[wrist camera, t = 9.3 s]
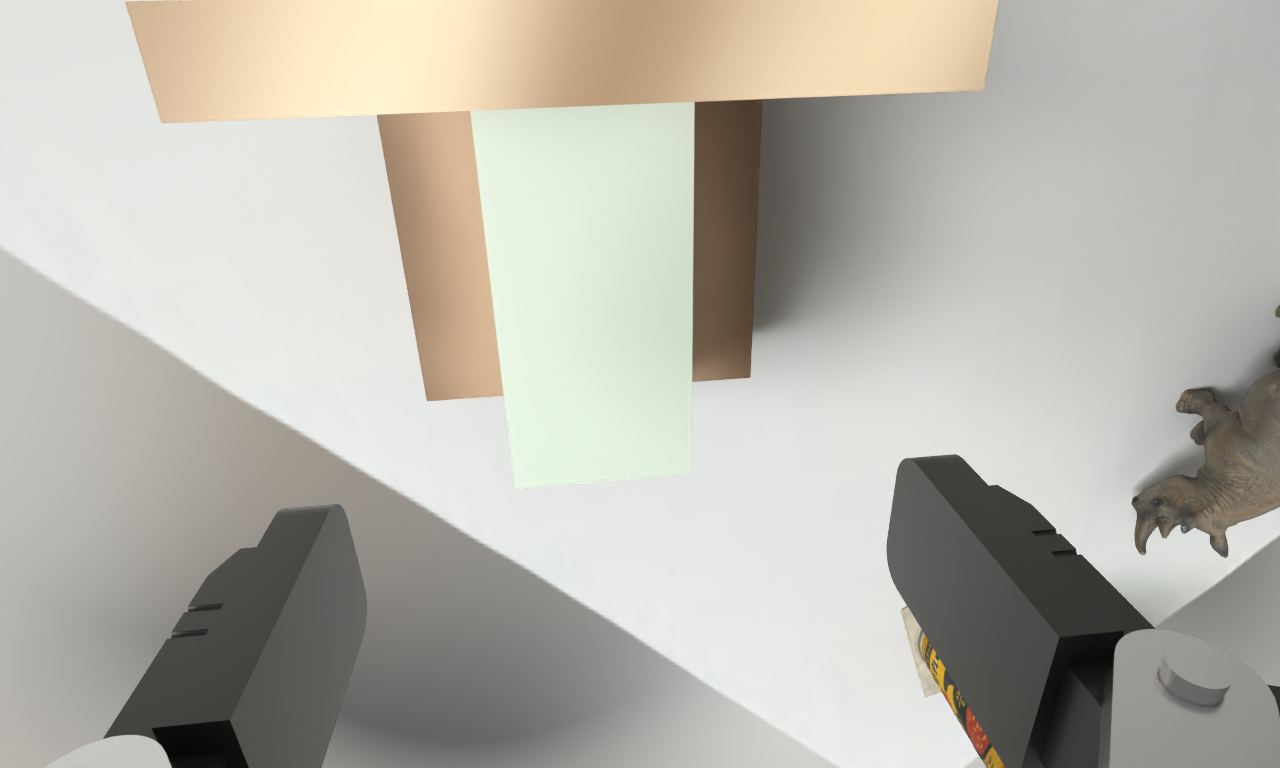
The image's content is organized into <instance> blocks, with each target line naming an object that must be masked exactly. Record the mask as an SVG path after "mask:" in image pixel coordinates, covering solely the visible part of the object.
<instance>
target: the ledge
mask: <svg viewBox="0 0 1280 768" xmlns="http://www.w3.org/2000/svg"><path fill="white" fill-rule="evenodd" d="M761 111H762V99H752V100H728V101H703V102H695V110H694V226H693V342H692V382H696V381H710V380H723V379H737V378H750V372H751V348H752V325H753V301H754V277H755V253H756V229H757V206H758V182H759V158H760V134H761ZM377 119H378V124H379V130H380V136H381V141H382V147H383V153H384V159H385V164H386V170H387V176H388V181H389V187H390V193H391V198H392V204H393V210H394V216H395V221H396V227H397V233H398V238H399V244H400V250H401V255H402V261H403V267H404V273H405V278H406V284H407V290H408V295H409V301H410V307H411V313H412V318H413V324H414V330H415V335H416V341H417V347H418V352H419V358H420V364H421V370H422V375H423V381H424V387H425V392H426V398H427V401H436V400H450V399H463V398H477V397H491V396H504V394H503V386H502V377H501V369H500V360H499V352H498V343H497V335H496V326H495V318H494V309H493V301H492V292H491V284H490V275H489V267H488V258H487V250H486V241H485V233H484V224H483V216H482V207H481V199H480V190H479V182H478V174H477V165H476V157H475V148H474V140H473V131H472V123H471V114H470V111H454V112H430V113H405V114H380V115H377Z"/></svg>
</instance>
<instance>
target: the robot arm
mask: <svg viewBox="0 0 1280 768" xmlns="http://www.w3.org/2000/svg"><path fill="white" fill-rule="evenodd" d="M887 560H888V566H889V570H890V574H891V577H892V580H893V582H894V584H895V586H896V588H897V590H898V591H899V593H900V594H901V596H902V598H903V599H904V601H905V603H906V604H907V606H908V608H909V609H910V611H911V613H912V614H913V616H914V618H915V619H916V621H917V623H918V624H919V626H920V627H921V629H922V631H923V632H924V634H925V636H926V637H927V639H928V641H929V642H930V644H931V646H932V647H933V649H934V651H935V652H936V654H937V656H938V657H939V659H940V661H941V662H942V664H943V665H944V667H945V669H946V670H947V672H948V674H949V675H950V677H951V679H952V680H953V682H954V684H955V685H956V687H957V689H958V690H959V692H960V694H961V695H962V697H963V698H964V700H965V702H966V703H967V705H968V707H969V708H970V710H971V712H972V713H973V715H974V717H975V718H976V720H977V722H978V723H979V725H980V727H981V728H982V730H983V732H984V733H985V735H986V736H987V738H988V740H989V741H990V743H991V745H992V746H993V748H994V750H995V751H996V753H997V755H998V756H999V758H1000V760H1001V761H1002V763H1003V765H1004V766H1005V768H1280V687H1278V686H1271V685H1267V684H1266V683H1265V682H1264V681H1263V680H1262V678H1261V677H1260V676H1258V675H1257V673H1256V672H1255V671H1253V670H1252V669H1251V668H1250V667H1249V666H1247V665H1246V664H1245V663H1244V662H1242V661H1241V660H1240V659H1238V658H1236V657H1235V656H1233V655H1232V654H1230V653H1229V652H1227V651H1225V650H1223V649H1221V648H1220V647H1218V646H1216V645H1214V644H1211V643H1209V642H1207V641H1205V640H1202V639H1199V638H1197V637H1194V636H1191V635H1188V634H1184V633H1180V632H1175V631H1169V630H1163V629H1155V628H1154V627H1153V626H1152V625H1151V624H1150V623H1149V622H1148V621H1147V620H1146V619H1145V618H1144V617H1143V616H1142V615H1141V614H1140V613H1139V612H1138V611H1137V610H1136V609H1135V608H1134V607H1133V606H1132V605H1131V604H1130V603H1129V602H1128V601H1127V600H1126V599H1125V598H1124V597H1123V596H1122V595H1121V594H1120V593H1119V592H1118V591H1117V590H1116V589H1115V588H1114V587H1113V586H1112V585H1111V584H1110V583H1109V582H1108V581H1107V580H1106V579H1105V578H1104V577H1103V576H1102V575H1101V574H1100V573H1099V572H1098V571H1097V570H1096V569H1095V568H1094V567H1093V566H1092V565H1091V564H1090V563H1089V562H1088V561H1087V560H1086V559H1085V558H1084V557H1083V556H1082V555H1077V553H1076V549H1075V548H1074V547H1073V546H1072V545H1071V544H1070V543H1069V542H1068V541H1067V540H1066V539H1065V538H1064V537H1063V536H1062V535H1061V534H1057V533H1056V529H1055V528H1054V527H1053V526H1052V525H1051V524H1050V523H1049V522H1048V521H1047V520H1046V519H1045V518H1044V517H1043V516H1042V515H1041V514H1040V513H1039V512H1038V511H1037V510H1036V509H1035V508H1034V507H1033V506H1032V505H1031V504H1030V503H1028V502H1026V501H1024V500H1023V499H1021V498H1019V497H1017V496H1016V495H1014V494H1012V493H1010V492H1009V491H1007V490H1005V489H1003V488H1001V487H1000V486H998V485H992V486H988V485H987V484H986V483H985V482H984V481H983V479H982V478H981V477H980V476H979V475H978V474H977V473H976V472H975V471H974V470H973V469H972V468H971V467H970V466H969V465H968V464H967V462H966V461H965V460H964V459H963V458H961V457H960V456H958V455H955V454H954V455H942V456H930V457H917V458H906V459H904V460H902V462H901V463H900V465H899V467H898V471H897V476H896V483H895V490H894V497H893V504H892V511H891V517H890V524H889V531H888V538H887ZM188 608H189V609H188V612H186V613H184V614H183V616H182V617H181V618H180V620H179V622H178V623H177V625H176V626H175V628H174V629H173V631H172V638H171V639H167V640H166V642H165V643H164V645H163V646H162V648H161V649H160V651H159V653H158V654H157V656H156V657H155V659H154V661H153V662H152V663H151V665H150V667H149V668H148V670H147V671H146V673H145V674H144V676H143V678H142V679H141V681H140V682H139V684H138V685H137V687H136V688H135V690H134V692H133V693H132V695H131V696H130V698H129V699H128V701H127V702H126V704H125V705H124V707H123V709H122V710H121V712H120V713H119V715H118V716H117V718H116V720H115V721H114V723H113V724H112V726H111V727H110V729H109V730H108V732H107V734H106V735H105V737H104V738H103V739H101V740H98V741H95V742H92V743H89V744H87V745H84V746H82V747H80V748H78V749H76V750H73V751H71V752H69V753H68V754H66V755H64V756H62V757H61V758H59V759H57V760H55V761H54V762H52V763H51V764H49V765H48V766H46V767H45V768H321V767H322V764H323V761H324V758H325V754H326V751H327V748H328V745H329V742H330V739H331V736H332V733H333V730H334V726H335V723H336V720H337V717H338V714H339V711H340V708H341V705H342V701H343V699H344V695H345V692H346V689H347V686H348V683H349V680H350V676H351V674H352V670H353V667H354V664H355V661H356V658H357V655H358V652H359V649H360V646H361V643H362V639H363V636H364V632H365V626H366V618H367V600H366V592H365V587H364V583H363V579H362V575H361V571H360V567H359V563H358V559H357V555H356V551H355V547H354V544H353V539H352V536H351V532H350V528H349V524H348V520H347V517H346V514H345V511H344V509H343V508H342V507H341V505H339V504H331V505H318V506H306V507H295V508H283V509H281V510H279V511H278V512H277V514H276V515H275V517H274V518H273V520H272V522H271V524H270V525H269V527H268V529H267V530H266V532H265V534H264V536H263V537H262V539H261V541H260V542H259V544H258V546H257V547H255V548H244V549H240V550H238V551H237V552H236V553H235V554H234V555H232V556H231V557H230V558H229V559H227V560H226V561H225V562H224V563H223V564H222V565H220V566H219V567H218V568H217V569H216V570H214V571H213V572H212V573H211V574H210V575H208V577H207V578H206V579H205V581H204V583H203V584H202V586H201V587H200V589H199V591H198V592H197V593H196V595H195V597H194V598H193V600H192V601H191V603H190V604H189V606H188Z"/></svg>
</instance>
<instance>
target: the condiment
mask: <svg viewBox="0 0 1280 768" xmlns="http://www.w3.org/2000/svg"><path fill="white" fill-rule="evenodd" d="M901 612H902V616H903V620H904V623H905V627H906V631H907V635H908V639H909V642H910V646H911V650H912V653H913V656H914V660H915V663H916V667H917V671H918V674H919V678H920V680H921V684H922V687H923V691H924V695H925V697H928V696H931V695H934V694H936V693H938V692H942V693H943V695H944V697H945V699H946V700H947V702H948V703H949V705H950V706H951V708H952V710H953V712H954V714H955V715H956V717H957V719H958V721H959V722H960V724H961V725H962V727H963V729H964V731H965V732H966V734H967V735H968V737H969V739H970V740H971V742H972V744H973V746H974V748H975V749H976V751H977V753H978V755H979V756H980V757H981V759H982V760H983V762H984V763H985V765H986V767H987V768H1005V766H1004V765H1003V763H1002V761H1001V760H1000V758H999V756H998V755H997V753H996V751H995V750H994V748H993V746H992V745H991V743H990V741H989V740H988V738H987V736H986V735H985V733H984V732H983V730H982V728H981V727H980V725H979V723H978V722H977V720H976V718H975V717H974V715H973V713H972V712H971V710H970V708H969V707H968V705H967V703H966V702H965V700H964V698H963V697H962V695H961V694H960V692H959V690H958V689H957V687H956V685H955V684H954V682H953V680H952V679H951V677H950V675H949V674H948V672H947V670H946V669H945V667H944V665H943V664H942V662H941V661H940V659H939V657H938V656H937V654H936V652H935V651H934V649H933V647H932V646H931V644H930V642H929V641H928V639H927V637H926V636H925V634H924V632H923V631H922V629H921V627H920V626H919V624H918V623H917V621H916V619H915V618H914V616H913V614H912V613H911V611H910V609H909V608H908V607H906V608H905V609H903V610H901Z"/></svg>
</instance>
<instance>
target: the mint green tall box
mask: <svg viewBox="0 0 1280 768" xmlns="http://www.w3.org/2000/svg"><path fill="white" fill-rule="evenodd" d="M694 110H695V102H678V103H653V104H628V105H603V106H579V107H554V108H529V109H504V110H479V111H470V114H471V123H472V131H473V140H474V148H475V157H476V165H477V174H478V182H479V190H480V199H481V207H482V216H483V224H484V233H485V241H486V250H487V258H488V267H489V275H490V284H491V292H492V301H493V309H494V318H495V326H496V335H497V343H498V352H499V360H500V369H501V377H502V386H503V394H504V403H505V411H506V420H507V428H508V437H509V445H510V454H511V462H512V471H513V479H514V488H515V489H519V488H532V487H544V486H557V485H569V484H582V483H594V482H607V481H619V480H632V479H644V478H657V477H669V476H682V475H691V458H692V342H693V226H694Z"/></svg>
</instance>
